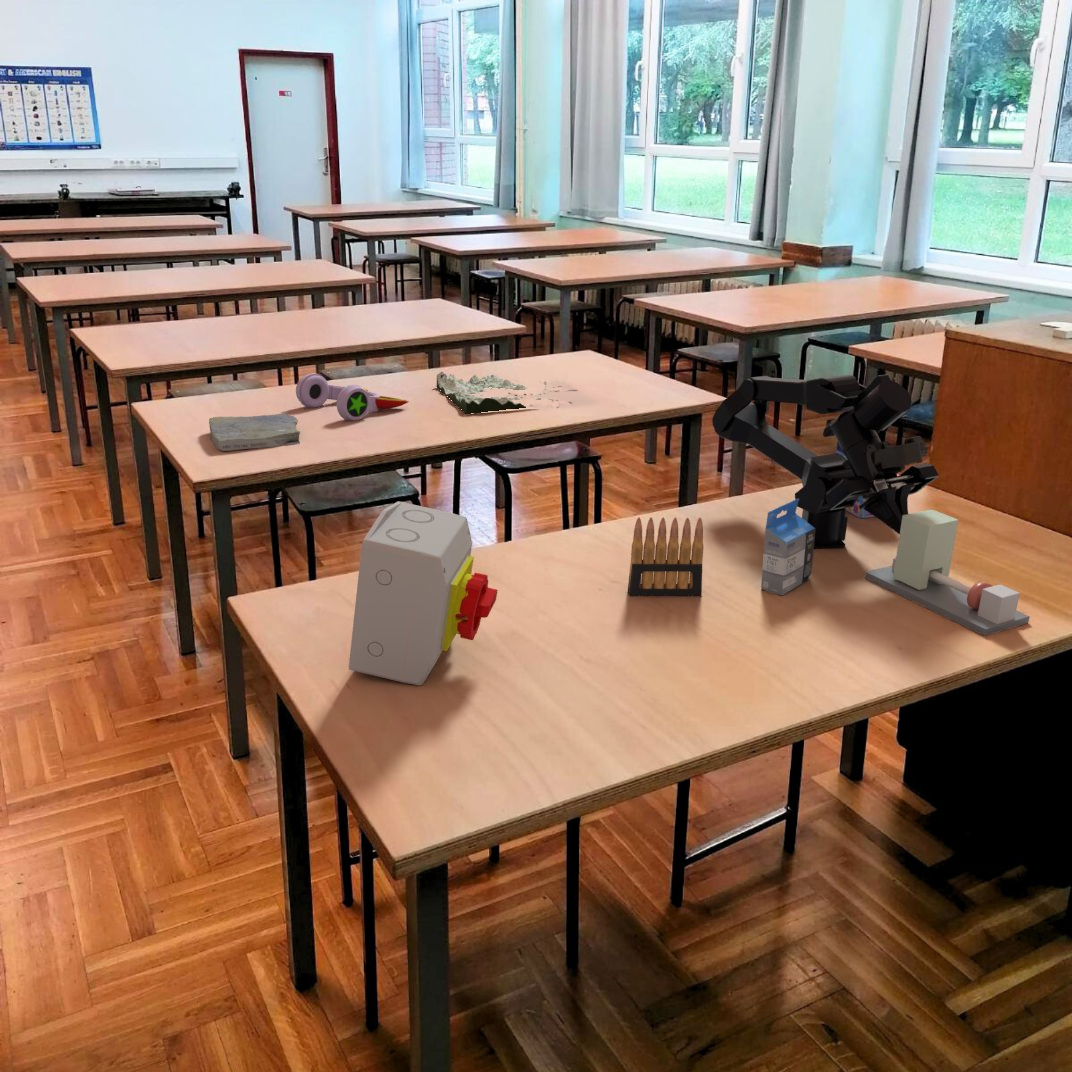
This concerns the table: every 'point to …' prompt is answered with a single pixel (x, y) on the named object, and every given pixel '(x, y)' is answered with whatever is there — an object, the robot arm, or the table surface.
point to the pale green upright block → (924, 547)
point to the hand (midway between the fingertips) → (906, 535)
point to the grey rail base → (959, 600)
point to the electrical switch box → (415, 592)
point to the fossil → (253, 431)
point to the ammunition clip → (666, 561)
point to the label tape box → (787, 550)
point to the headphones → (342, 397)
